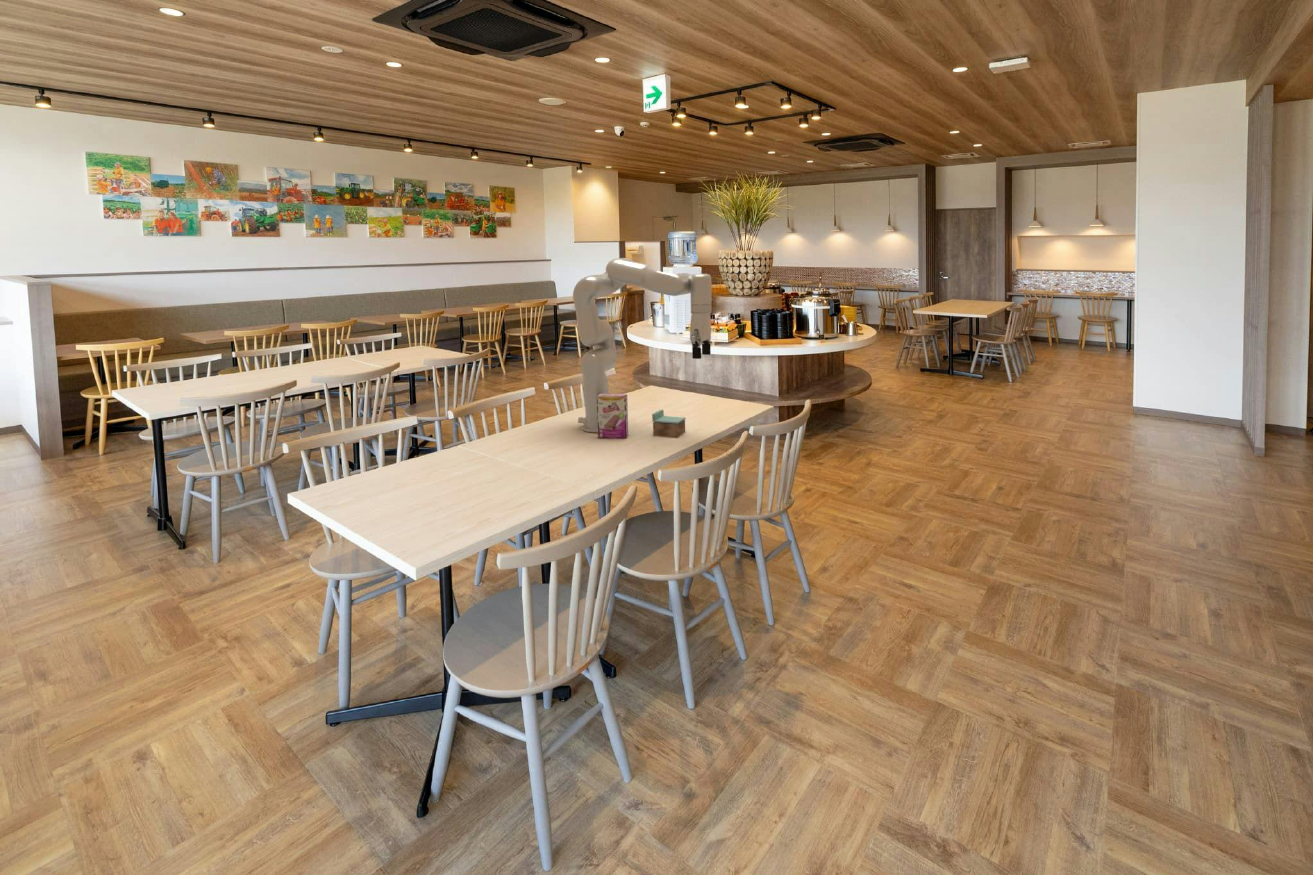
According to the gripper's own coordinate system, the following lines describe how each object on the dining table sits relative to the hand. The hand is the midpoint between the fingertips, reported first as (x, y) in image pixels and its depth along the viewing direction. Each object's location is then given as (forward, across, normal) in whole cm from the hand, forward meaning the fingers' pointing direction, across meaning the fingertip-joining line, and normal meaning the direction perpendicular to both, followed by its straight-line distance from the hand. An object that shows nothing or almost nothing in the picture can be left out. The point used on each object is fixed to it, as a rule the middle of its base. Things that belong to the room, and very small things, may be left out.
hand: (701, 356), depth 267 cm
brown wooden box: (+31, -2, -14) cm, 34 cm away
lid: (+25, -2, -14) cm, 29 cm away
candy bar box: (+31, +9, -33) cm, 46 cm away
